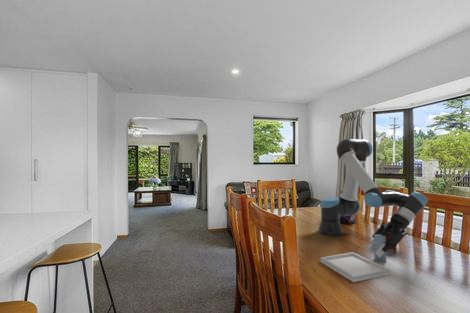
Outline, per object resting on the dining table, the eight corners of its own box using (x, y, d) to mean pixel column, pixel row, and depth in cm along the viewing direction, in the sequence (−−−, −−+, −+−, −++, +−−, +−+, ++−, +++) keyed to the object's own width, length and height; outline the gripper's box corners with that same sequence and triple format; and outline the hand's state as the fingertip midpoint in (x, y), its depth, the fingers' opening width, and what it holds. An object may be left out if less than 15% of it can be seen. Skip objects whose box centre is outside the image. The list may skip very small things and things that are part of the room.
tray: (320, 261, 114) (320, 257, 114) (352, 256, 120) (352, 252, 120) (353, 282, 95) (353, 276, 95) (389, 274, 101) (389, 269, 101)
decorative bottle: (357, 226, 173) (357, 193, 173) (327, 223, 183) (327, 191, 184) (358, 220, 193) (358, 189, 193) (331, 217, 203) (330, 188, 203)
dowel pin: (371, 259, 117) (371, 234, 117) (379, 257, 118) (379, 233, 119) (380, 263, 112) (380, 238, 112) (388, 261, 114) (388, 236, 114)
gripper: (423, 228, 109) (393, 266, 106) (392, 218, 127) (365, 251, 124) (413, 217, 108) (382, 255, 105) (383, 209, 126) (356, 241, 123)
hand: (373, 253), depth 115 cm, fingers closed on dowel pin, 5 cm apart
